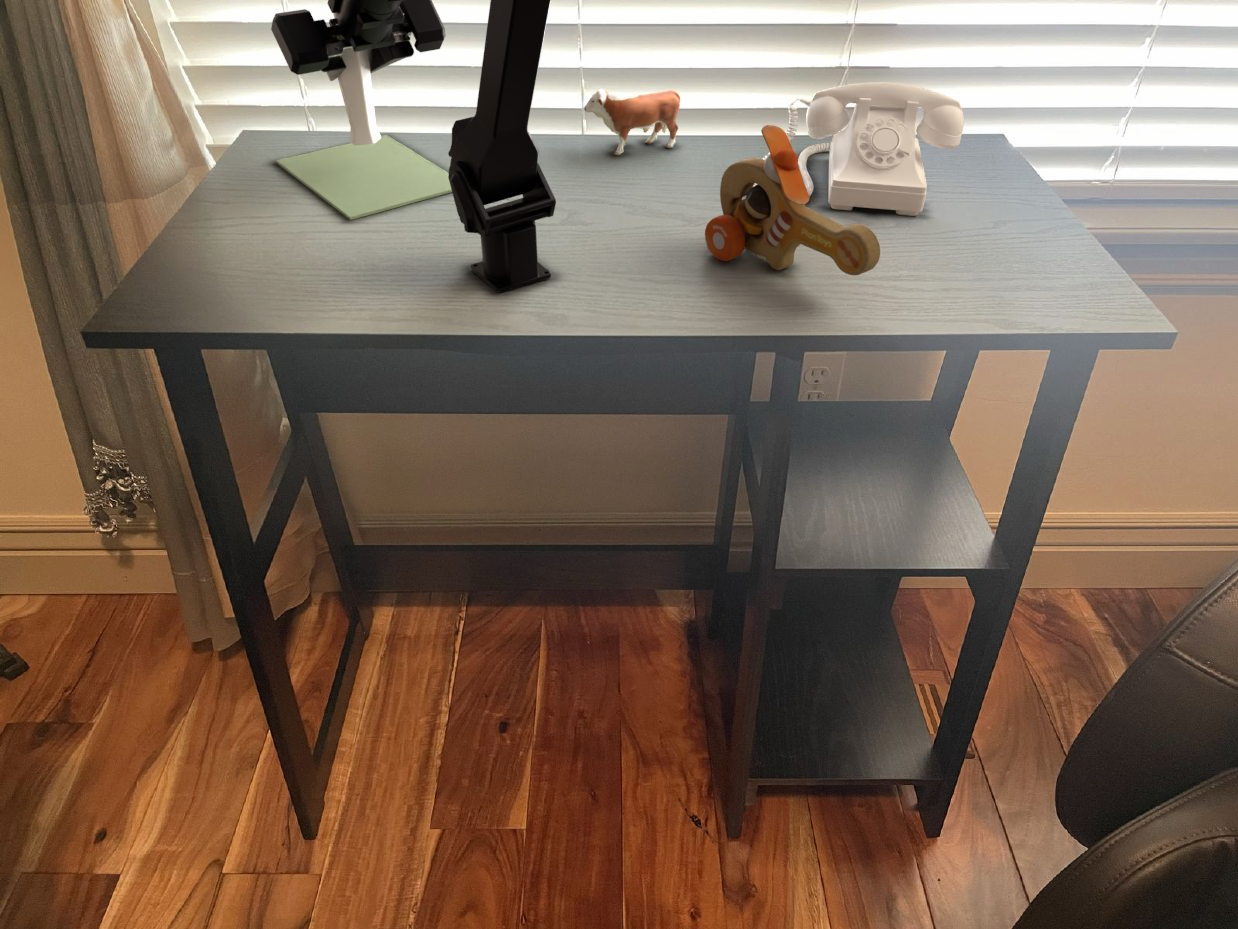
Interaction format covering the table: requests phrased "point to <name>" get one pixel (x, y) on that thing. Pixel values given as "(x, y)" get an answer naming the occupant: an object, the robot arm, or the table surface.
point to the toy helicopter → (781, 215)
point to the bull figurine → (636, 113)
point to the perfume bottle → (358, 96)
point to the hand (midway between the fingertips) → (348, 73)
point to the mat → (368, 176)
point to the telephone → (877, 142)
